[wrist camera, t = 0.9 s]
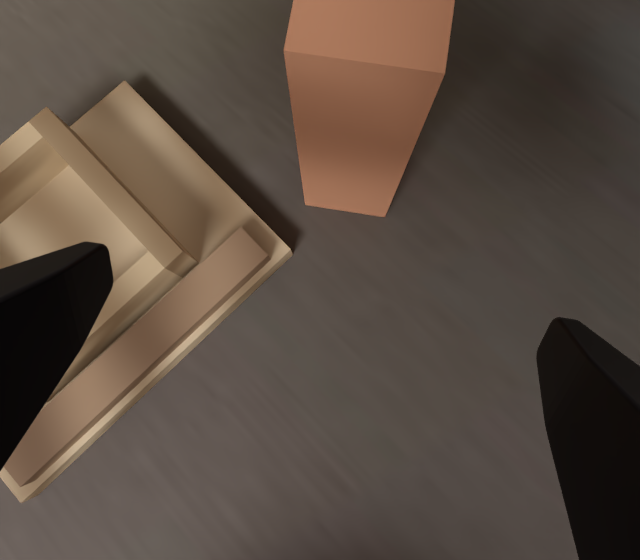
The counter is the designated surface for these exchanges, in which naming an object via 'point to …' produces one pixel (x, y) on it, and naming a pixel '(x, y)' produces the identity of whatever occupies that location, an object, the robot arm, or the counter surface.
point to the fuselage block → (362, 93)
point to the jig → (124, 260)
